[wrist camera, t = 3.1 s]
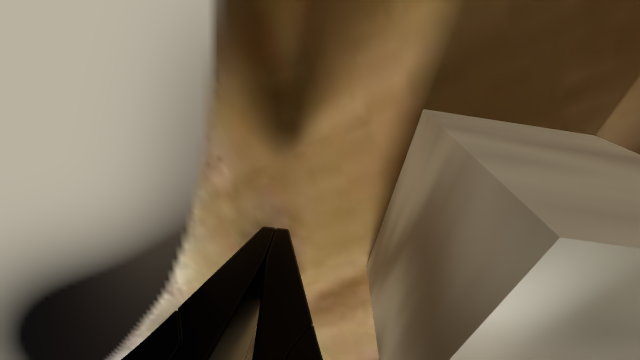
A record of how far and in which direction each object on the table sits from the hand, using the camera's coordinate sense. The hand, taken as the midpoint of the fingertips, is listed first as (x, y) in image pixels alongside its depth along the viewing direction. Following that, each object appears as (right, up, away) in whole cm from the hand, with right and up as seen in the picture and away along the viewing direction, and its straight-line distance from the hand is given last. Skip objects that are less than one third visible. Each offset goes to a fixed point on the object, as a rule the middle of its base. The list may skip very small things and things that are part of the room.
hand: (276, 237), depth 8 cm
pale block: (+7, +1, +2) cm, 8 cm away
